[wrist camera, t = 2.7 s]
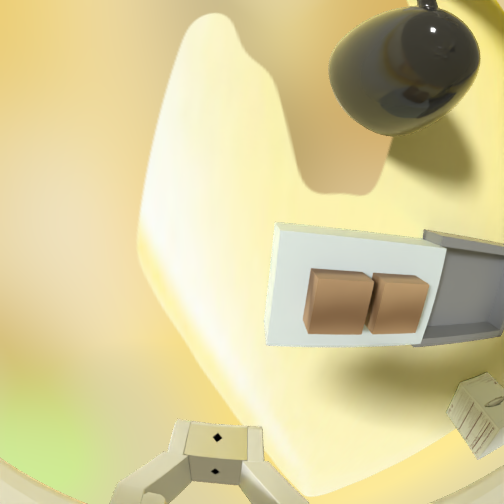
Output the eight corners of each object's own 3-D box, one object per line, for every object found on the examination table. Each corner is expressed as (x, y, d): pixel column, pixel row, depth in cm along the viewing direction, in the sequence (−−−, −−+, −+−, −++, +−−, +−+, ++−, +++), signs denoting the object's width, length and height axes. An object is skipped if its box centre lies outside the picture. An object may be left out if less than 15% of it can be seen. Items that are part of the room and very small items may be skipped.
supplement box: (487, 370, 32) (528, 411, 20) (472, 402, 34) (506, 444, 22) (459, 380, 32) (501, 429, 20) (444, 413, 34) (477, 462, 21)
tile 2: (373, 272, 23) (385, 282, 20) (415, 275, 23) (429, 284, 20) (362, 320, 24) (372, 334, 21) (403, 320, 24) (415, 332, 21)
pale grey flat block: (274, 222, 26) (280, 230, 22) (422, 238, 26) (446, 248, 22) (263, 321, 28) (266, 345, 24) (402, 324, 29) (420, 343, 24)
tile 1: (310, 268, 22) (317, 278, 20) (362, 271, 22) (374, 281, 20) (302, 319, 23) (308, 334, 21) (351, 320, 24) (361, 334, 21)
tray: (424, 229, 26) (442, 236, 23) (509, 245, 27) (525, 251, 23) (399, 332, 29) (413, 347, 26) (487, 325, 30) (500, 336, 26)
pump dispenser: (395, 48, 22) (480, -13, 7) (420, 138, 24) (532, 123, 9) (306, 47, 22) (354, -52, 7) (331, 146, 24) (424, 112, 10)
